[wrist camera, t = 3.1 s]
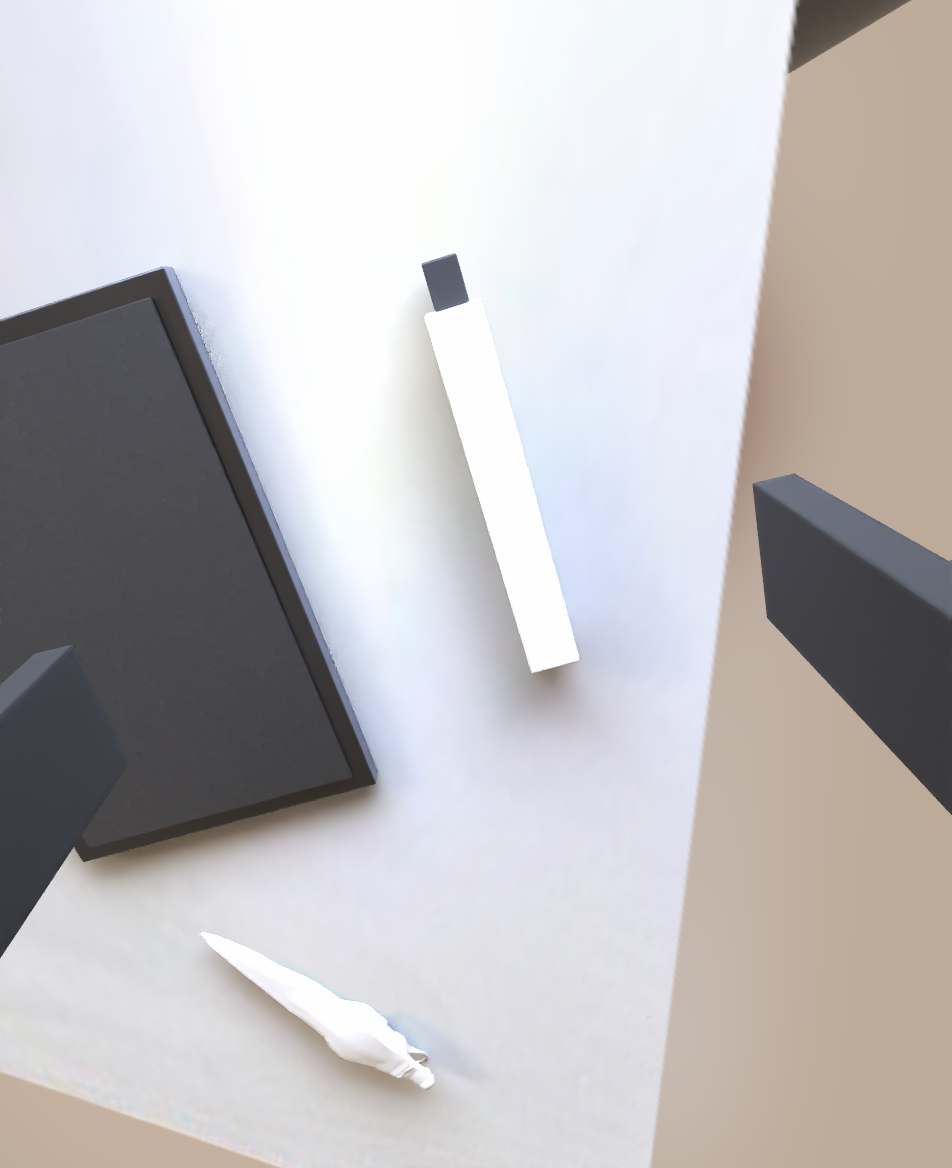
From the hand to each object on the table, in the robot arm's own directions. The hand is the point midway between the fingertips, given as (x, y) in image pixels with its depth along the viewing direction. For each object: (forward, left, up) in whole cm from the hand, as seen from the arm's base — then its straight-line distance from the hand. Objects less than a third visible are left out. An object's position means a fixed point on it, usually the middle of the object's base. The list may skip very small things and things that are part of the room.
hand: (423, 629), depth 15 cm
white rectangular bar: (-2, +2, -16) cm, 17 cm away
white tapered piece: (+14, +25, -16) cm, 33 cm away
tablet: (+14, +2, -16) cm, 21 cm away
